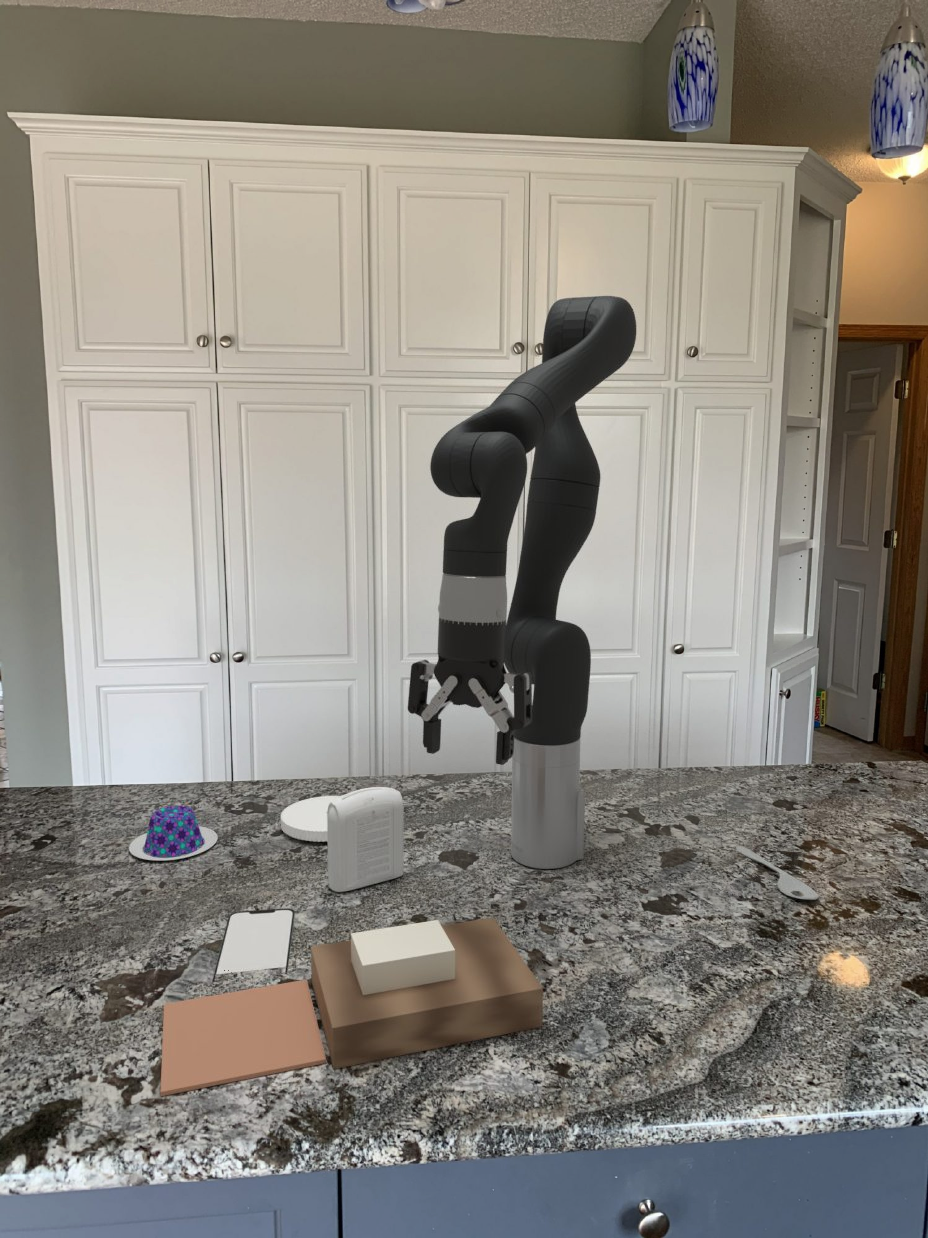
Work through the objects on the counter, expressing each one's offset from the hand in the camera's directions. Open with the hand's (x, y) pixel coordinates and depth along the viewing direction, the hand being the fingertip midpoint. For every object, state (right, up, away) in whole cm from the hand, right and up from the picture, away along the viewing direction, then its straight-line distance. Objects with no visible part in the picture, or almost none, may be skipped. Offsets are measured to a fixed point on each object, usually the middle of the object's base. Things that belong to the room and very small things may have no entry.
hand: (466, 757), depth 98 cm
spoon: (+40, -19, +18) cm, 48 cm away
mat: (-21, -23, -16) cm, 36 cm away
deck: (-5, -23, -12) cm, 26 cm away
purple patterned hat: (-42, -17, +25) cm, 52 cm away
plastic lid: (-21, -16, +32) cm, 41 cm away
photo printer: (-13, -19, +15) cm, 27 cm away
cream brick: (-6, -19, -13) cm, 24 cm away
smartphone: (-24, -22, -1) cm, 32 cm away
